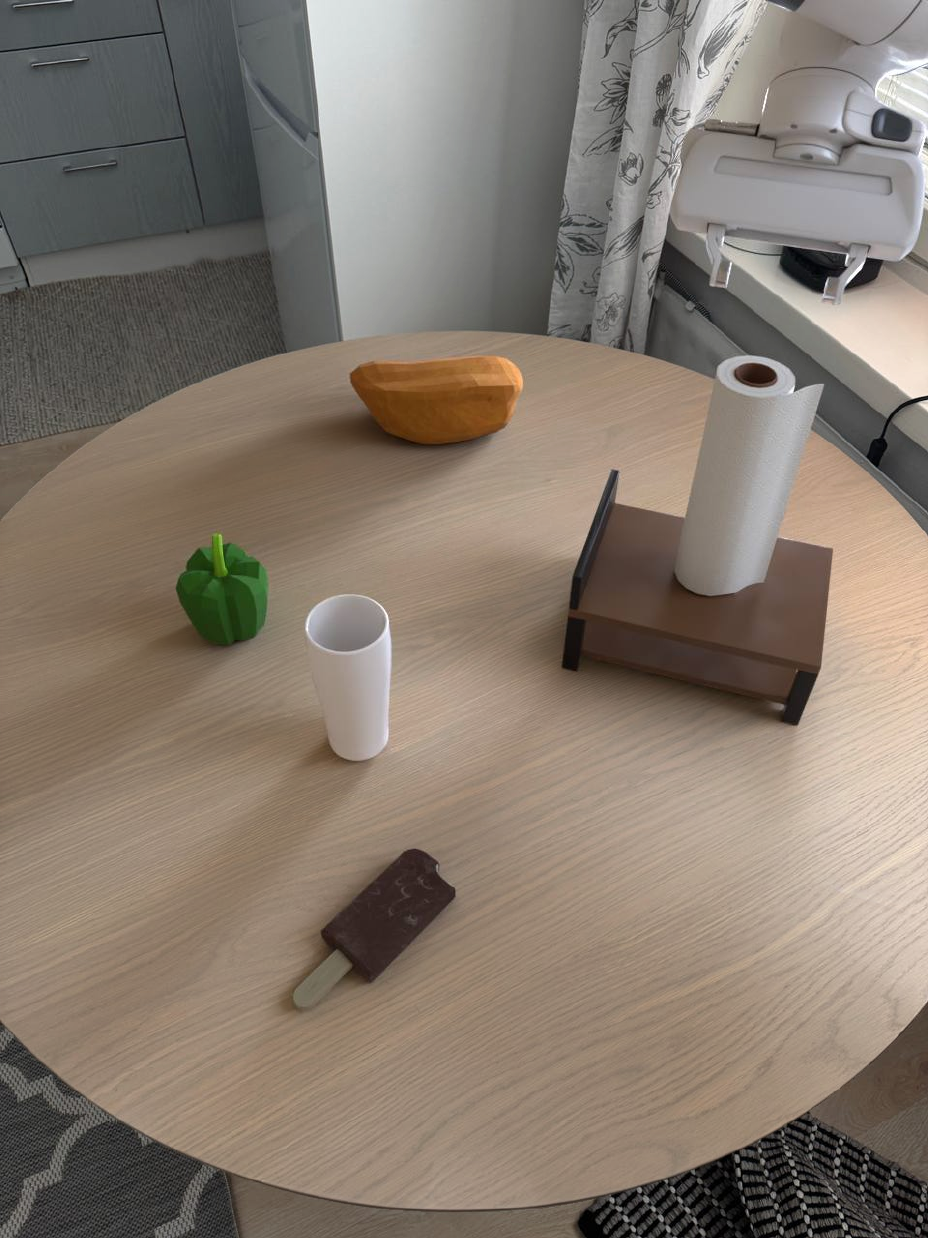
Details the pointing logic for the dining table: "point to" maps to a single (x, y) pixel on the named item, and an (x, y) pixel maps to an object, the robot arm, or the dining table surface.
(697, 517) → the paper towel roll
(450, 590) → the dining table surface
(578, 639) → the rack
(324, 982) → the ice cream bar
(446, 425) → the bread
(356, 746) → the drinking glass
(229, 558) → the bell pepper
